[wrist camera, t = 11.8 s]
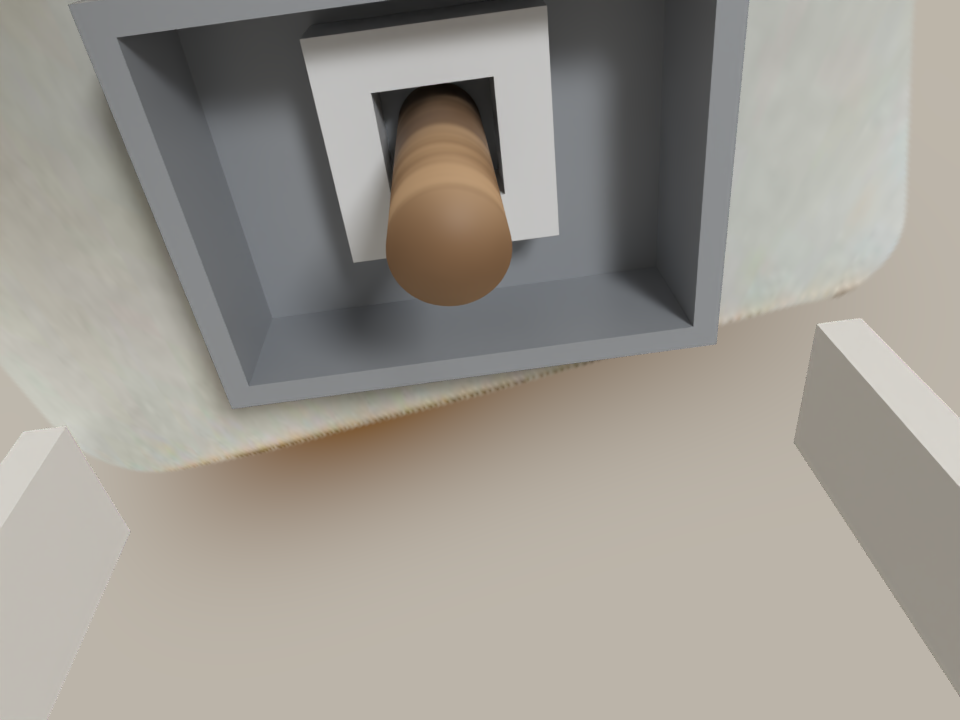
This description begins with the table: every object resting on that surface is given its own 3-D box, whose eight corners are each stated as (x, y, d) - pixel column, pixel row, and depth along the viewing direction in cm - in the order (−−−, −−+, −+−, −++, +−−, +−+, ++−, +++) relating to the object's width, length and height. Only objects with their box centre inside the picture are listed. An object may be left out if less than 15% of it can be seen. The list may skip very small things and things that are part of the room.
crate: (136, -19, 30) (67, 4, 24) (692, -96, 30) (757, -91, 24) (259, 333, 40) (232, 408, 34) (673, 277, 40) (716, 344, 34)
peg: (390, 87, 32) (373, 199, 21) (475, 76, 32) (506, 182, 21) (405, 170, 35) (398, 313, 23) (485, 160, 35) (517, 297, 23)
